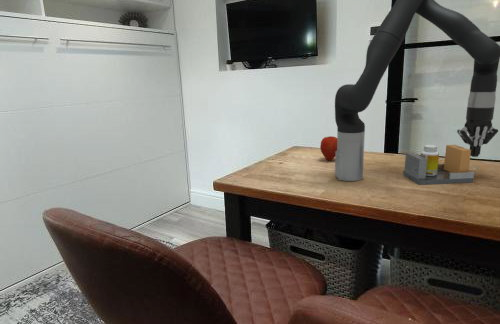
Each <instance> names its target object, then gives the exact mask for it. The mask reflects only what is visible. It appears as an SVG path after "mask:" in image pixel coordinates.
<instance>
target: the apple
mask: <svg viewBox="0 0 500 324" xmlns="http://www.w3.org/2000/svg"><path fill="white" fill-rule="evenodd" d="M319 147H320V148H319V149H320V151H321V154H322V155H323V157H324V158H325V160H326V161H332V160H335V152H336V151H337V136H325V137H323V138H322V139H321V141H320V146H319Z"/></svg>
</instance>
